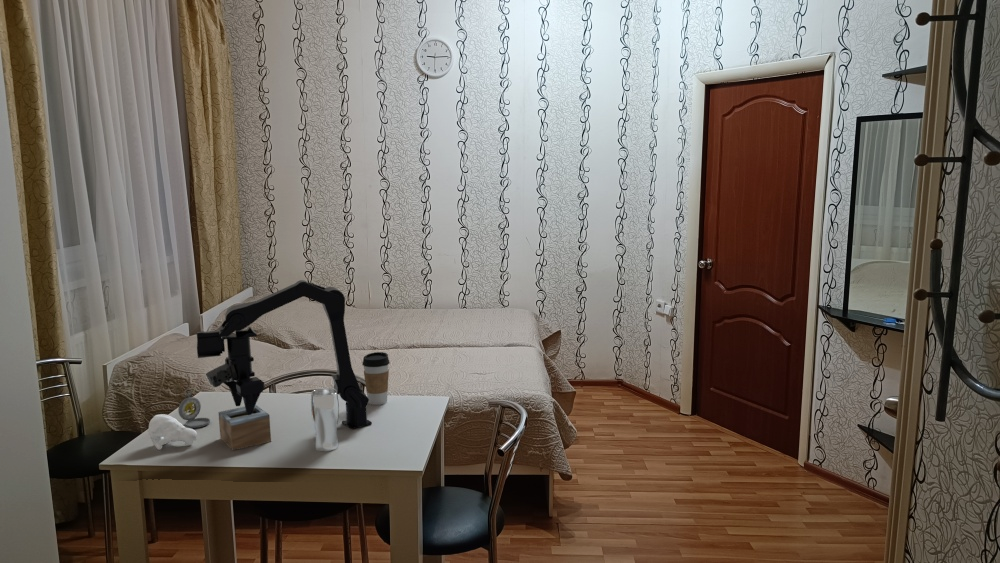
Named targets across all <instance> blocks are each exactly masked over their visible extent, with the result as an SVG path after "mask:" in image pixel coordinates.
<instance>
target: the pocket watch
mask: <svg viewBox="0 0 1000 563" xmlns="http://www.w3.org/2000/svg"><path fill="white" fill-rule="evenodd" d="M186 391H188V392H187V394H186ZM189 391H190V392H189ZM192 393H193V390H192V389H191V388H187V389H186V390H184V391H183V394H184V395H185V396H187V397H186V398H184V399H183V400H181V402H180V404H179V406H178V411H177V412H178V415H179V417H180V418H181V419H182V420H184V421H185V423H184V424H185V425H184V426H185V427H186V428H190V429H193V428H195V429H197V428H202V427H205V426H207V425H209V424H210V423H211V419H210V418H208V417H197V416H199V414H200V413H201V406H202V405H201V402H200V400H199V399H198V398H196V397H194V396H191V395H192Z"/></svg>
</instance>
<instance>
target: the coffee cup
mask: <svg viewBox="0 0 1000 563" xmlns="http://www.w3.org/2000/svg"><path fill="white" fill-rule="evenodd" d="M361 363H362V364H361V366H363V376H364V384H365V390H366V396H367V397H368V399H369V401H368V405H371V404H372V406H379V405H385V404H387V403H388V391H389V378H390V377H389V373H390V371H389V370H390V369H389V364H390V359H389V354H388V353H386V352H385V351H384V352H382V351H378V352H377V351H376V352H374V351H373V352H371V353H367V354H366V355H364V356H363V360H362V362H361Z"/></svg>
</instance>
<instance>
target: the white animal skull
mask: <svg viewBox="0 0 1000 563" xmlns="http://www.w3.org/2000/svg"><path fill="white" fill-rule="evenodd" d="M147 432H148V436H149V439H150V440H151V442H152V444H153V445H154V447H155V448H156V449H157V450H159V451H160V450H161V449H162V448H163V445H166V444H169V443H170V442H171V443H174V442H175V443H176V442H183V443H184V446H185V447H188V446H193V444H194V442H195V441H197V439H198V433H197V431H196V430H195V429H193V428H190V427H186V425H183V424H182V422H180V421H178V420H177V418H175V417H173V416H171V415H169V414H164V413H163V414H162V413H160V414H155V415H154V416H153V417H152V418H151V419H150V421H149V423H148V430H147Z"/></svg>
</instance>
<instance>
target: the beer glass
mask: <svg viewBox="0 0 1000 563" xmlns="http://www.w3.org/2000/svg"><path fill="white" fill-rule="evenodd" d="M310 394H311V396H310V397H311V398H310V408H311V409H310V412H311V417H312V421H313V426H314V430H315V444H314V445H315V446H314V449H315V450H316V451H317V452H330V451H335V450H336V449H338V448H339V446H340V444H339V443H340V442H339V439H338V425H339V424H338V422H339V417H340V416H339V413H340V408H339V407H340V405H339V394H337V390H336V389H334V388H333V387H332V388H331V387H327V388H326V387H325V388H324V387H323V388H318V389H315V390H312V391H311V392H310Z"/></svg>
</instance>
